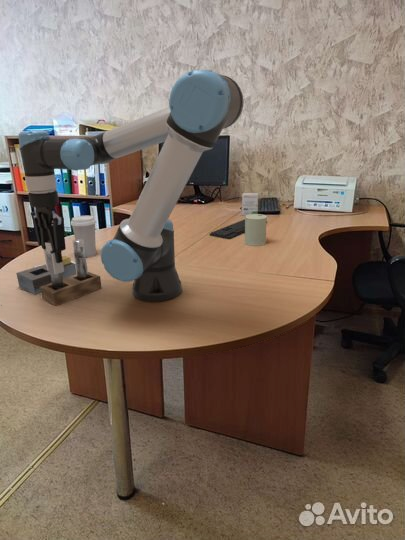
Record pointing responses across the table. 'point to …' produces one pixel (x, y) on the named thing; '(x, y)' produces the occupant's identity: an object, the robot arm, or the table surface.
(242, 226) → the dark grey ribbed block
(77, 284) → the rack
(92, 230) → the coffee cup
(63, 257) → the yellow piece
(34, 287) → the block
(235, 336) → the table surface
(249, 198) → the ink box
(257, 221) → the can
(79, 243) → the test tube
